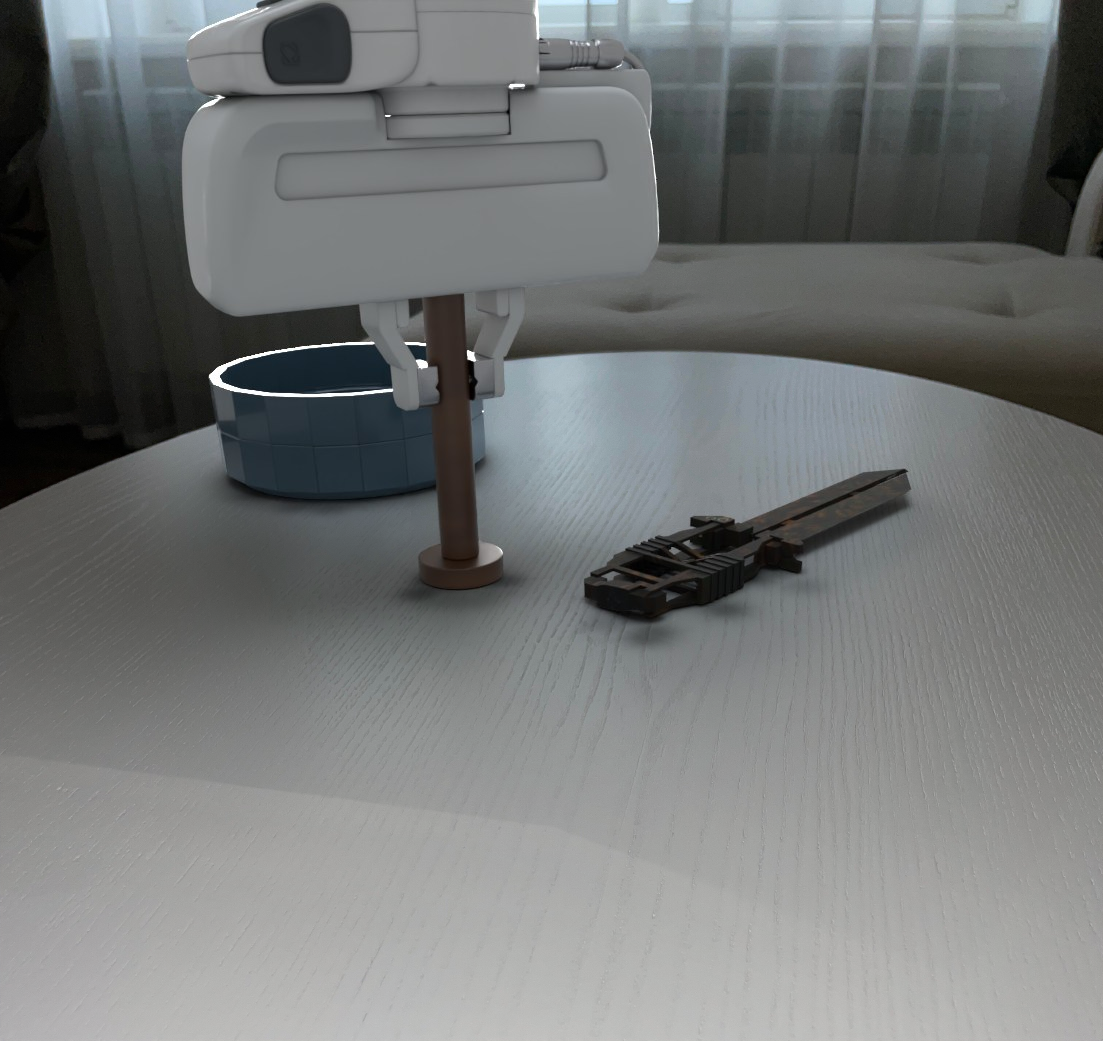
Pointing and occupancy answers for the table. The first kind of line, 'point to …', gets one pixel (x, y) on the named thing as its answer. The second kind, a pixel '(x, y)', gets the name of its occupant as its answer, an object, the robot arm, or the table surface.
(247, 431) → the bowl
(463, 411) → the stirrer
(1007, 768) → the table surface
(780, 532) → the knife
